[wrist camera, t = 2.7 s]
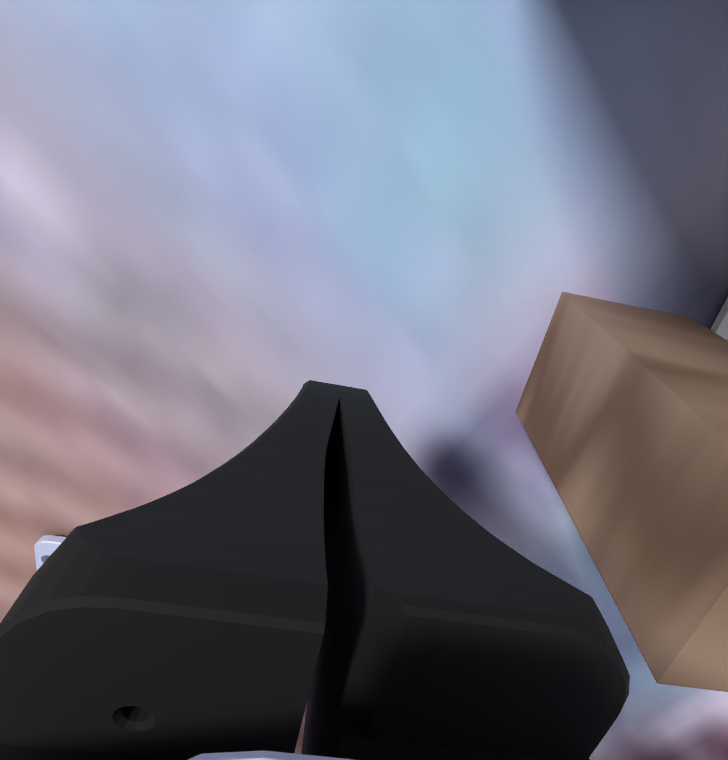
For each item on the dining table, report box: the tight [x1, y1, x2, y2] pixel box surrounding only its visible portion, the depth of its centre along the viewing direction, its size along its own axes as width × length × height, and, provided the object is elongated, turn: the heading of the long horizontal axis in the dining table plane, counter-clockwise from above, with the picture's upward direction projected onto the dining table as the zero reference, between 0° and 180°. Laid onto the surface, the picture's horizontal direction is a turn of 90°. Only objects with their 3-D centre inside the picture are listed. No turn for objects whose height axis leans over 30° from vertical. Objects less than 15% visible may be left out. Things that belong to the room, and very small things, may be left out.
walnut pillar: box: [516, 292, 728, 692], centre depth 14 cm, size 4×4×10 cm
